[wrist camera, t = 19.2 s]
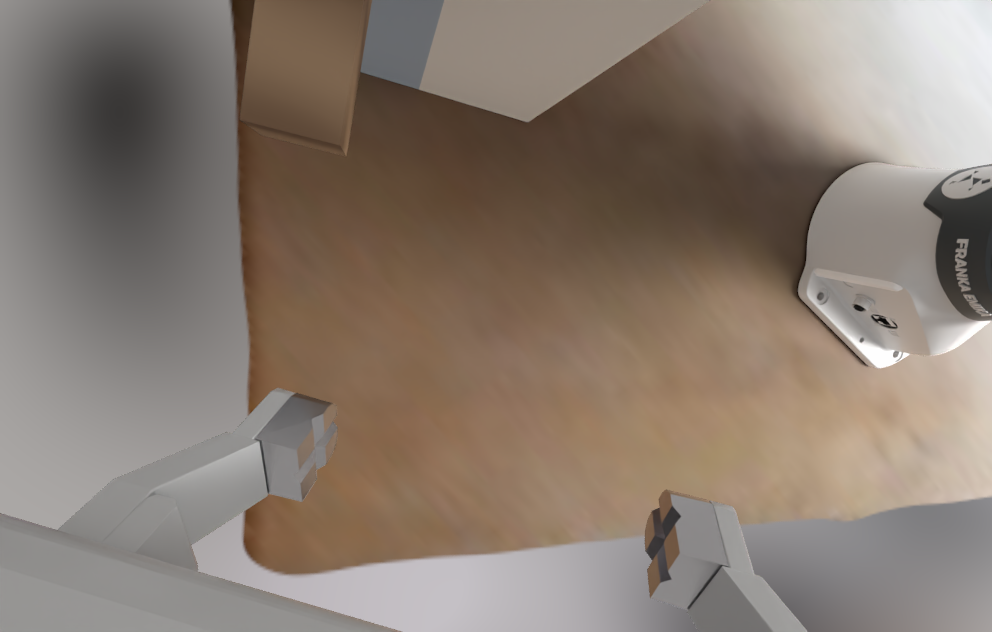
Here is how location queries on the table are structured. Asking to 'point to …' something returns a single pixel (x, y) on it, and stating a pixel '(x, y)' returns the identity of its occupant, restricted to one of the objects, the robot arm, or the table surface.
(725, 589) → the robot arm
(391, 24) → the stand
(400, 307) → the table surface
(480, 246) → the table surface
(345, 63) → the beam
